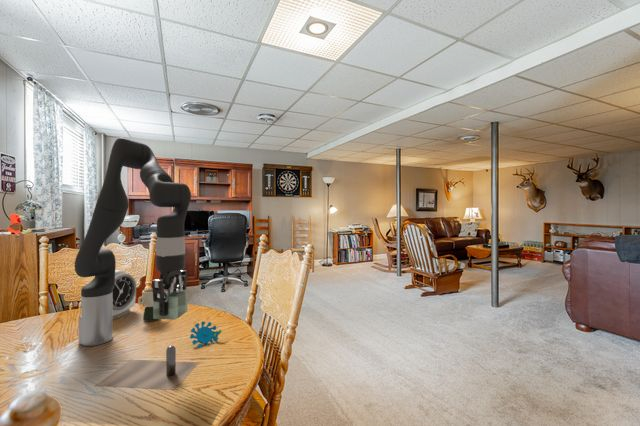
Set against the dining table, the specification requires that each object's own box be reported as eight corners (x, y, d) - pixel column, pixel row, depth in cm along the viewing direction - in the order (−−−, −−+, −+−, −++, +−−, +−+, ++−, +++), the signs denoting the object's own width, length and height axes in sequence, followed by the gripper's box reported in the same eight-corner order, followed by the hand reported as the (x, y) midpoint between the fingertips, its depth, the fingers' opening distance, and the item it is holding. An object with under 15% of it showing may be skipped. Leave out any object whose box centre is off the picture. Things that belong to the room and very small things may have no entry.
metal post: (164, 376, 86) (164, 347, 86) (169, 371, 88) (169, 343, 88) (172, 376, 86) (172, 348, 86) (177, 372, 88) (177, 344, 88)
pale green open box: (153, 318, 84) (153, 297, 84) (166, 310, 90) (166, 290, 90) (175, 319, 83) (175, 297, 83) (187, 311, 90) (187, 291, 90)
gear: (192, 349, 102) (189, 321, 108) (187, 357, 105) (184, 329, 111) (224, 344, 108) (220, 318, 114) (218, 352, 111) (214, 326, 117)
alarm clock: (105, 324, 126) (105, 275, 126) (88, 322, 128) (88, 274, 127) (138, 310, 144) (138, 267, 143) (123, 308, 145) (122, 266, 145)
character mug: (160, 314, 138) (160, 286, 138) (168, 318, 134) (168, 288, 133) (134, 322, 129) (134, 291, 129) (142, 326, 125) (142, 294, 125)
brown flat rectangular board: (95, 390, 81) (95, 385, 81) (131, 363, 95) (131, 359, 95) (174, 394, 80) (174, 389, 80) (199, 366, 94) (199, 362, 94)
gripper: (172, 248, 94) (172, 302, 94) (141, 256, 80) (141, 319, 80) (195, 249, 93) (195, 303, 94) (169, 257, 79) (169, 320, 79)
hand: (170, 310), depth 87 cm, fingers closed on pale green open box, 6 cm apart
